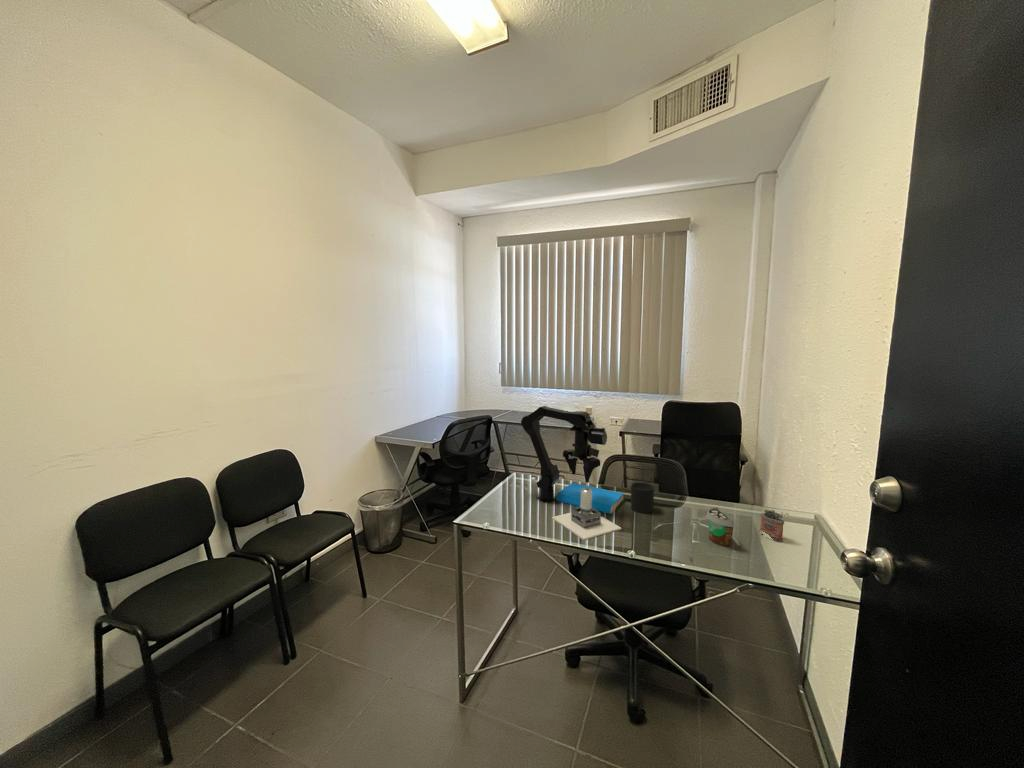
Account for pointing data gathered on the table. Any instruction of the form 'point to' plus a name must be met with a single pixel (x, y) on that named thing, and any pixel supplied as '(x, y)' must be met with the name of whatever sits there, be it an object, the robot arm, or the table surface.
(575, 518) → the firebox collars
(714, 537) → the food container
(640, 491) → the pen holder
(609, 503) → the book
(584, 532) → the tile
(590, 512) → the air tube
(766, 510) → the lighter
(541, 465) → the robot arm
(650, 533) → the table surface
